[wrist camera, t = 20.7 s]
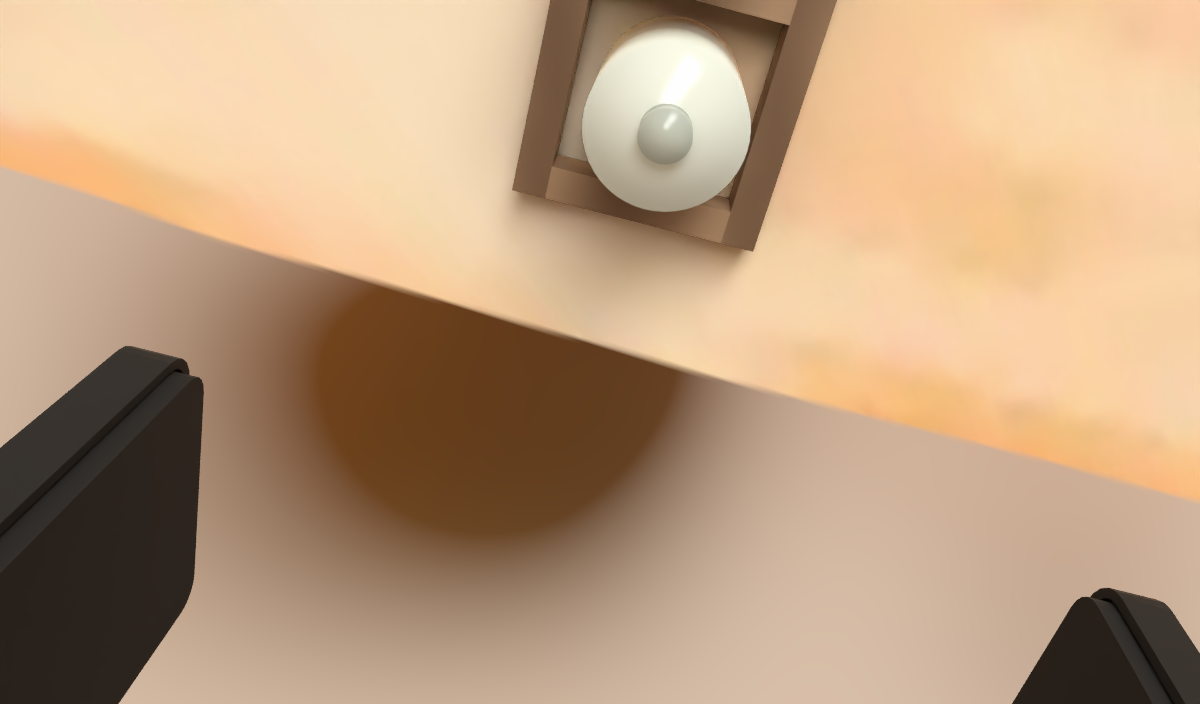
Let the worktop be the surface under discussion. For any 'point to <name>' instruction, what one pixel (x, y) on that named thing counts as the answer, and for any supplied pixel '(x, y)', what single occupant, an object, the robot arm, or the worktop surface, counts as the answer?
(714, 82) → the sugar pot
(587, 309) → the worktop surface
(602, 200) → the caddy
